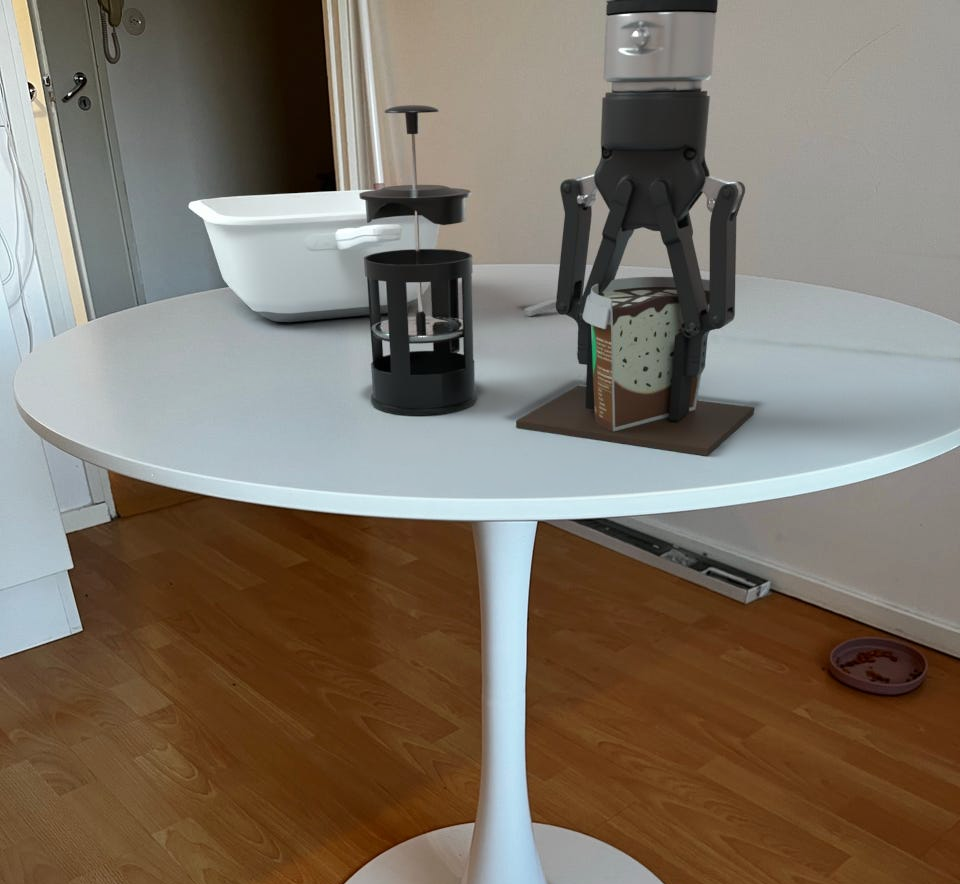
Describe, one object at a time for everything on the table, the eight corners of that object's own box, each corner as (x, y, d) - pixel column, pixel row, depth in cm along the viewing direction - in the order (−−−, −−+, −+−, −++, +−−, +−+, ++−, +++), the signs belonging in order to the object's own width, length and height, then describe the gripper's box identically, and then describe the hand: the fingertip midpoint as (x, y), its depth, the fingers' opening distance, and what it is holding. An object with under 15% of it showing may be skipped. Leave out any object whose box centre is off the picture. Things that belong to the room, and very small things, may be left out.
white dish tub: (400, 282, 143) (395, 184, 136) (524, 345, 106) (525, 216, 100) (196, 298, 134) (181, 195, 128) (256, 374, 97) (238, 234, 91)
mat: (753, 414, 83) (754, 407, 83) (707, 456, 74) (708, 448, 74) (577, 391, 90) (577, 385, 90) (515, 427, 81) (515, 420, 81)
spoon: (620, 307, 123) (620, 290, 122) (532, 324, 119) (531, 307, 118) (608, 303, 125) (608, 286, 124) (521, 319, 122) (520, 302, 121)
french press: (449, 422, 83) (439, 106, 72) (348, 412, 86) (323, 107, 75) (499, 386, 92) (497, 102, 81) (406, 378, 95) (392, 104, 84)
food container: (653, 390, 88) (663, 270, 83) (707, 406, 83) (720, 280, 78) (546, 416, 81) (549, 287, 76) (599, 435, 77) (606, 299, 72)
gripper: (509, 89, 72) (509, 407, 83) (780, 85, 64) (740, 439, 75) (554, 88, 78) (549, 385, 89) (809, 84, 69) (768, 413, 80)
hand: (636, 409), depth 82 cm, fingers closed on food container, 6 cm apart
